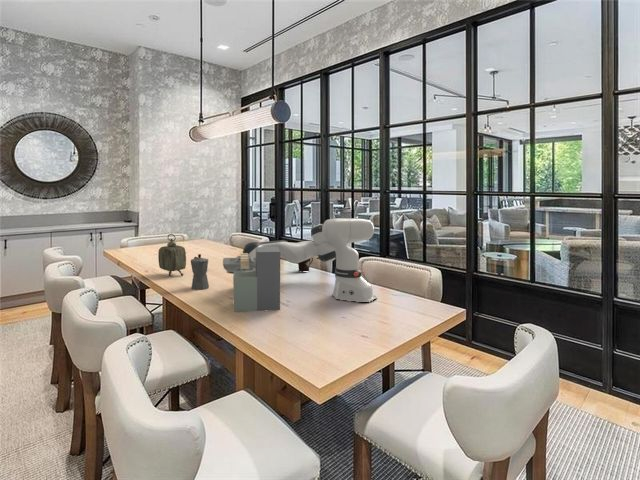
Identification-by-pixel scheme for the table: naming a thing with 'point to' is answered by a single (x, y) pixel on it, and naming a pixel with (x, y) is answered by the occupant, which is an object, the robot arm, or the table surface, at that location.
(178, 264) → the tabletop clock
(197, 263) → the coffeepot
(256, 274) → the step stand
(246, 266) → the batten
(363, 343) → the table surface
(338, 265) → the robot arm
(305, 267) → the coffee mug
